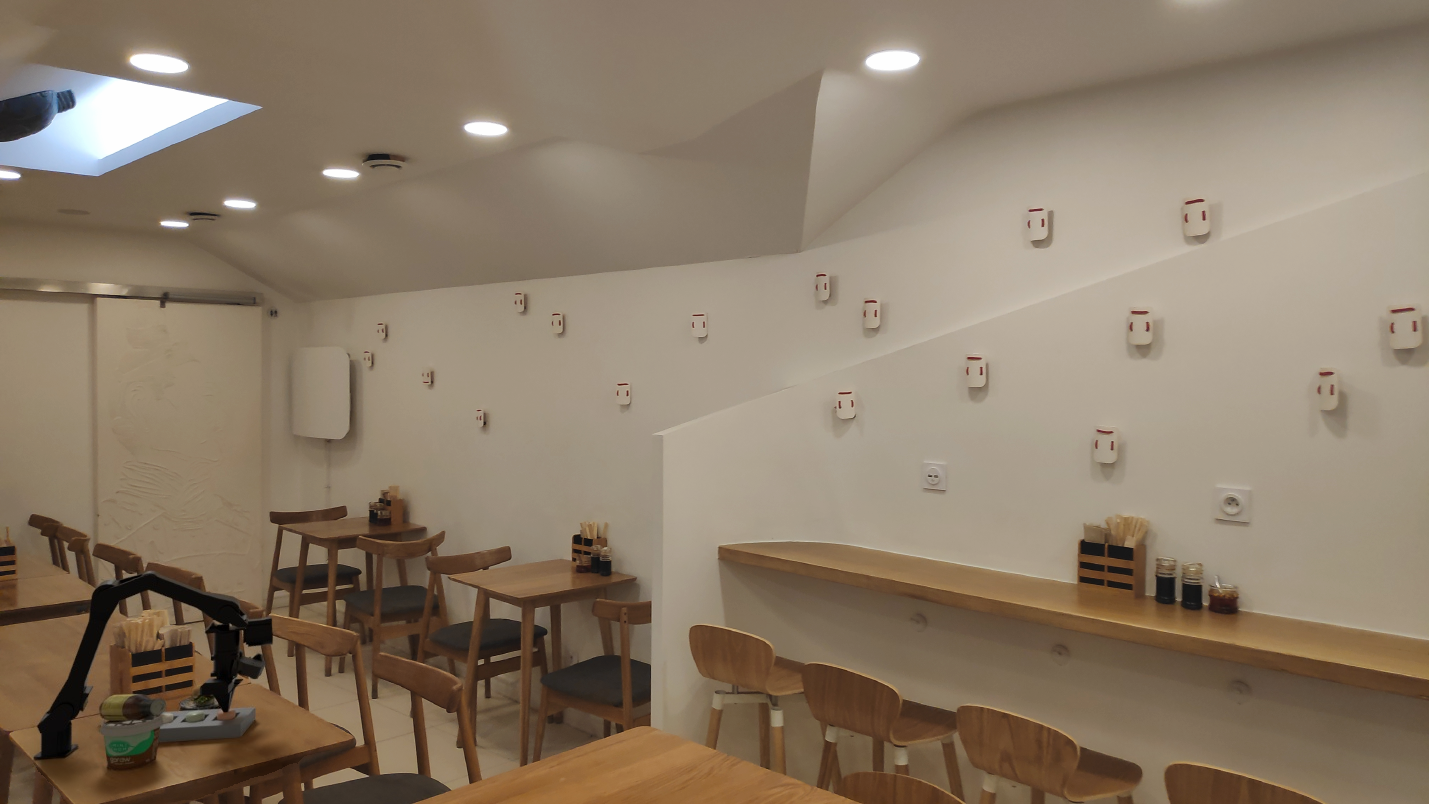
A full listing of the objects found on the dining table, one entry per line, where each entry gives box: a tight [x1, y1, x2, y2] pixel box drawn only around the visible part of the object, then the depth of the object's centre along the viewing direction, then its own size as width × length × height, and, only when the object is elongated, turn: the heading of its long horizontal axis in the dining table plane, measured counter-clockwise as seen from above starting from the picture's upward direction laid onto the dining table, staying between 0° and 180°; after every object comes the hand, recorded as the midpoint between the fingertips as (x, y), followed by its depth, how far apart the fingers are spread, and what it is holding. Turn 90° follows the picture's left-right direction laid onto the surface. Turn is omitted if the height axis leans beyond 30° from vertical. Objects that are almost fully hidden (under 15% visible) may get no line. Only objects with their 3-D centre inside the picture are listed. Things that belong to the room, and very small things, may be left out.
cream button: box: [154, 713, 173, 723], centre depth 217 cm, size 4×4×3 cm
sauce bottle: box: [98, 693, 167, 722], centre depth 222 cm, size 7×6×20 cm
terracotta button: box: [217, 709, 235, 720], centre depth 220 cm, size 4×4×3 cm
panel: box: [142, 706, 256, 743], centre depth 218 cm, size 12×24×3 cm, turn 102°
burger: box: [178, 680, 220, 711], centre depth 236 cm, size 12×12×8 cm
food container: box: [99, 715, 164, 772], centre depth 197 cm, size 12×6×10 cm, turn 105°
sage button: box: [186, 711, 205, 722], centre depth 218 cm, size 4×4×3 cm
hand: (226, 711), depth 220 cm, fingers closed, pressing on terracotta button
